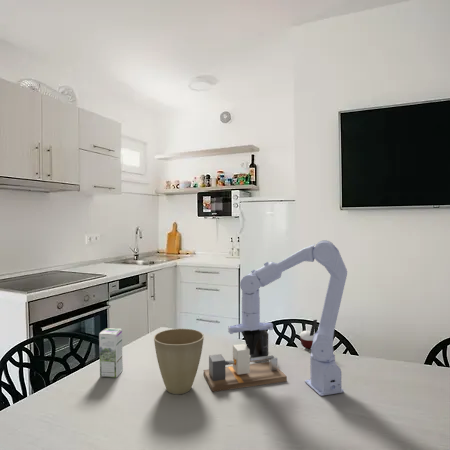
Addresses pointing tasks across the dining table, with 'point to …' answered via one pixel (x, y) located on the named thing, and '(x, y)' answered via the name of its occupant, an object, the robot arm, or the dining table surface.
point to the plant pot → (178, 357)
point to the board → (246, 377)
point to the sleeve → (241, 359)
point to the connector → (217, 367)
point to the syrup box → (110, 352)
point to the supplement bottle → (261, 345)
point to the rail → (271, 359)
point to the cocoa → (308, 336)
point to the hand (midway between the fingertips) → (250, 353)
